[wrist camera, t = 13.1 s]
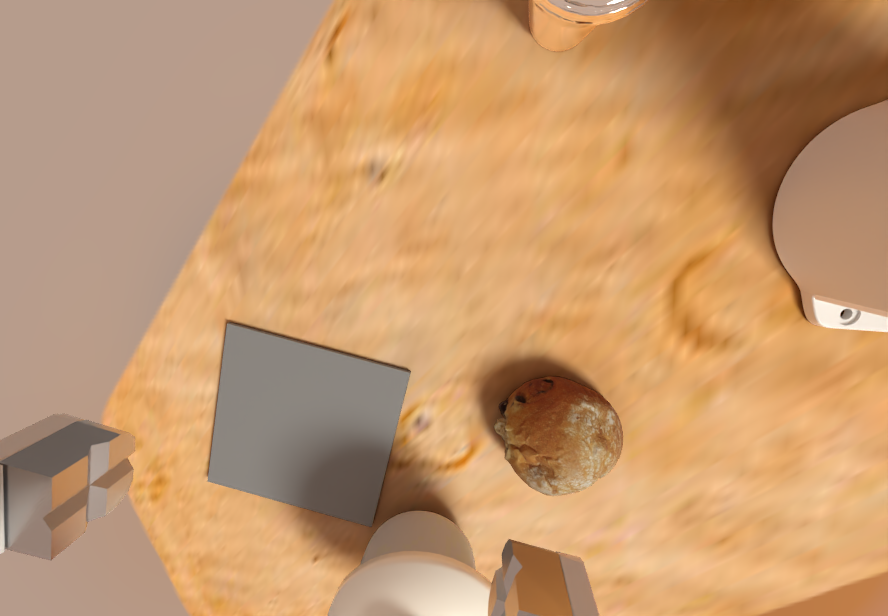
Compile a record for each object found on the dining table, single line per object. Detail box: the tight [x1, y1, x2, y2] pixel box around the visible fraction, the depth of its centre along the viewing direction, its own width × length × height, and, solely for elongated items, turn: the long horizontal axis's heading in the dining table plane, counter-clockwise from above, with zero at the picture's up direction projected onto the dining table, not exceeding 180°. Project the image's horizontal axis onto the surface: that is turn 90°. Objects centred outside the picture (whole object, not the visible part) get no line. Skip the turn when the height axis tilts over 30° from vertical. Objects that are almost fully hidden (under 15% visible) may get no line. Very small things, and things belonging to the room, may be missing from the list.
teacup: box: [360, 511, 476, 570], centre depth 38 cm, size 14×11×8 cm
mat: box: [208, 322, 411, 527], centre depth 39 cm, size 17×17×1 cm
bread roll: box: [494, 376, 623, 496], centre depth 35 cm, size 10×10×8 cm
